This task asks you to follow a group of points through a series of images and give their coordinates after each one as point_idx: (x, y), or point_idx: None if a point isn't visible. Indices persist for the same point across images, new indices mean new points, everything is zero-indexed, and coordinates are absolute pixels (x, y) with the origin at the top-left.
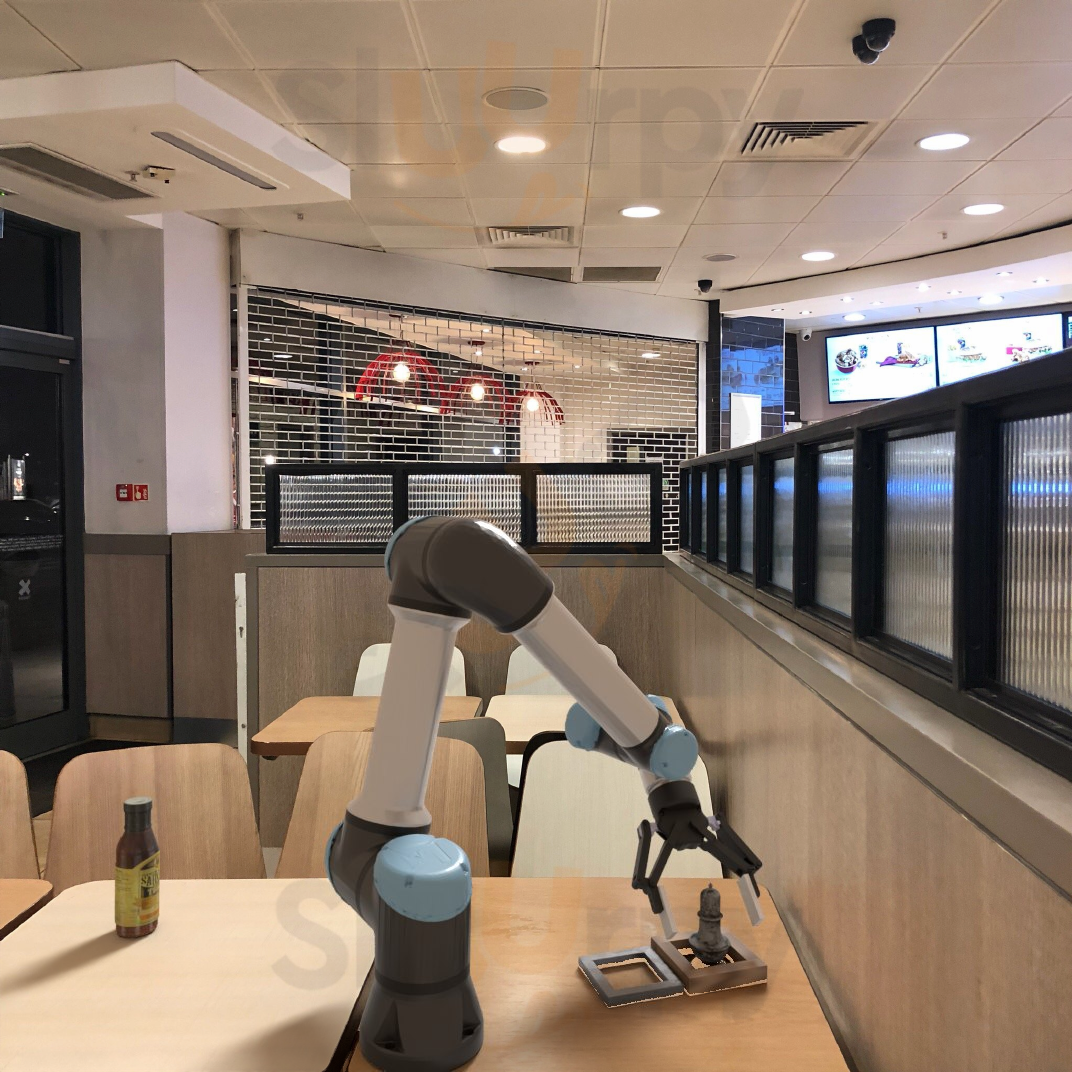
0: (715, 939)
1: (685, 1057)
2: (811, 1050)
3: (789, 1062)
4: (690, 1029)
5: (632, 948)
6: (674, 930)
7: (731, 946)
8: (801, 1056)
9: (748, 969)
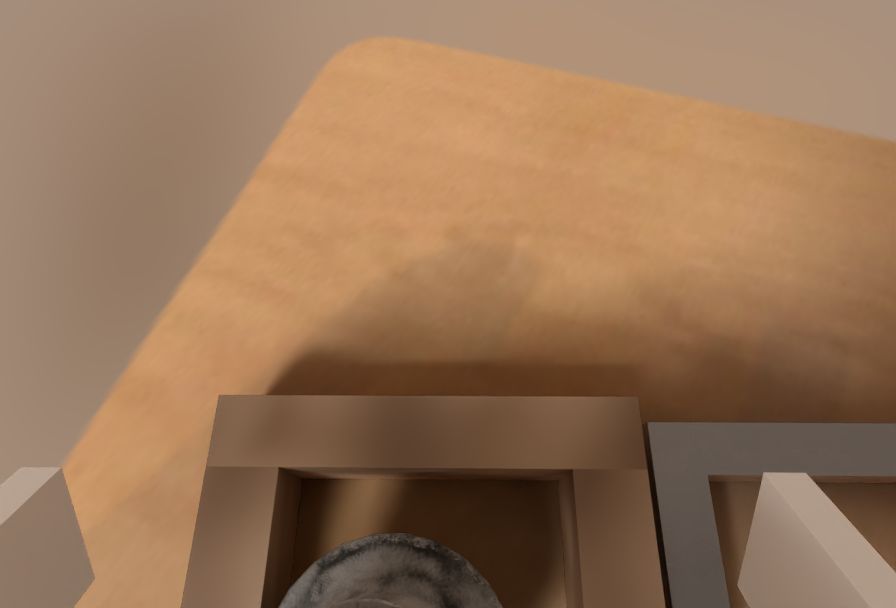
0: (387, 591)
1: (746, 131)
2: (375, 75)
3: (465, 53)
4: (684, 237)
5: None
6: (797, 478)
7: None
8: (418, 63)
9: (322, 396)
